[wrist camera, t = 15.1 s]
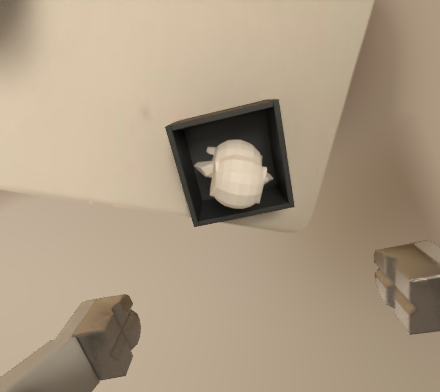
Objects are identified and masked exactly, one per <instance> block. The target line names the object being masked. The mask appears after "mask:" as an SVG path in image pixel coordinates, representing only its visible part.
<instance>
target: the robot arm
mask: <svg viewBox="0 0 440 392" xmlns="http://www.w3.org/2000/svg"><path fill="white" fill-rule="evenodd" d="M374 262H375V263H376V264H377V266H378V267H379V268H378V270H377V272H376V273H375V283H376V286H377V289H378V292H379V294H380V296H381V297H382V299H383V300H384V302H385V303H386V304H387V305H389V306H391V307H393V308H395V316H396V317H397V319H398V320H399V321H400V322H401V324H402V325H403V326H404V327H405V329H406V330H407V331H408V333H409V334H410V335H411V334H419V333H428V332H436V331H440V247H439V246H438V245H437V244H435V243H434V242H432V241H429V240H424V241H419V242H414V243H410V244H407V245H402V246H396V247H391V248H385V249H380V250H375V253H374ZM132 305H133V303H132V301H131V299H130V297H129V296H128V295H125V294H124V295H118V296H111V297H105V298H99V299H93V300H87V301H84V302H82V303H81V304H80V306H79V307H78V309H77V310H76V311H75V312H74V314H73V315H72V317H71V318H70V320H69V321H68V322H67V324H66V325H65V326H64V328H63V329H62V330H61V332H60V333H59V335H58V336H57V337H56V339H55V340H50V341H49V342H48V343H46V344H45V345H44V346H42V347H41V348H39V349H38V350H37V351H35V352H34V353H33V354H31V355H30V356H29V357H27V358H26V359H24V360H23V361H22V362H20V363H19V364H18V365H16V366H15V367H14V368H12V369H11V370H10V371H8V372H7V373H5V374H4V375H3V376H1V377H0V392H92V391H93V389H94V388H95V387H96V385H98V383H99V380H105V379H110V378H117V377H122V376H126V374H127V370H128V368H129V365H130V363H131V360H132V357H133V355H132V352H131V350H132V349H133V348H134V347H135V346H136V345H137V344H138V341H139V337H140V330H141V325H140V320H139V317H138V314H137V313H135V312H134V311H132V310H131V307H132Z"/></svg>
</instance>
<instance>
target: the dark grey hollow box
mask: <svg viewBox="0 0 440 392" xmlns="http://www.w3.org/2000/svg"><path fill="white" fill-rule="evenodd" d="M165 128H166V131H167V135H168V138H169V142H170V145H171V149H172V152H173V156H174V159H175V162H176V166H177V169H178V173H179V176H180V180H181V183H182V187H183V190H184V193H185V197H186V200H187V204H188V207H189V211H190V214H191V218H192V221H193V224H194V227H197V226H202V225H207V224H212V223H217V222H222V221H227V220H232V219H237V218H242V217H247V216H252V215H257V214H262V213H267V212H272V211H277V210H282V209H287V208H292V207H294V200H293V193H292V186H291V180H290V173H289V166H288V159H287V153H286V146H285V139H284V132H283V126H282V119H281V112H280V105H279V100H278V99H274V100H263V101H259V102H255V103H251V104H246V105H242V106H238V107H234V108H230V109H226V110H221V111H217V112H213V113H209V114H205V115H201V116H197V117H192V118H188V119H184V120H180V121H177V122H174V123H172V124H170V125H168V126H166V127H165ZM227 140H243V141H246V142H248V143H250V144H252V145H253V146H254V147H255V148H256V149H257V150H258V151H259V152H260V155H261V156H263V158H262V166H263V167H267V173H269V174H270V175H271V176H272V177H273V180H271V181H269V182H268V183H266V184H264V186H263V191H262V195H261V199H260V204H258V203H255V204H254V205H252V206H251V207H247V208H244V209H236V208H231V207H227V206H224V205H223V204H221V203H220V202H218V201H217V200H216V199H215V197H214V196H210V186H211V180H212V178H210V177H205V176H204V175H203V174H202V173H201V172H200V171H199V170H198V169H196V168H195V167H194V165H195V164H196V163H197V162H205V161H212V159H213V156H214V155H212V154H209V153H207V147H218V145H220V144H221V143H223V142H225V141H227Z"/></svg>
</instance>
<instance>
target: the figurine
mask: <svg viewBox="0 0 440 392" xmlns="http://www.w3.org/2000/svg"><path fill="white" fill-rule="evenodd" d="M207 153H209V154H212V155H214V156H213V159H212V161H205V162H197V163H196V164H195V165H194V167H195V168H196V169H198V170H199V171H200V172H201V173H202V174H203V175H204V176H205V177H210V178H212V180H211V186H210V196H214V197H215V199H216V200H217V201H218V202H220V203H221V204H223V205H224V206H227V207H231V208H236V209H244V208H247V207H251V206H252V205H254V204H255V203H258V204H260V199H261V195H262V191H263V186H264V184H266V183H268V182H269V181H271V180H273V177H272V176H271V175H270V174H269V173H267V167H263V166H262V158H263V156H261V155H260V152H259V151H258V150H257V149H256V148H255V147H254V146H253V145H252V144H250V143H248V142H246V141H243V140H227V141H225V142H223V143H221V144H220V145H218V147H207Z"/></svg>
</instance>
